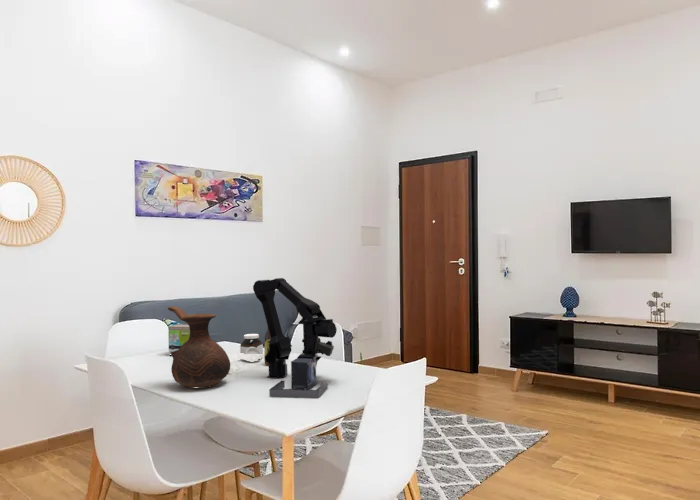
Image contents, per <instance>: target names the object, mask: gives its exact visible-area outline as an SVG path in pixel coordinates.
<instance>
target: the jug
mask: <svg viewBox="0 0 700 500" xmlns="http://www.w3.org/2000/svg"><path fill="white" fill-rule="evenodd" d="M167 310H168V311H169V312H173V313H174V314H175V315H176V317H178V319H179V320H180V321H182V322H184V323H185V324H188V325H189V328H190V336H189V339H188V341H187V342H185V343H184V344H183V345H182V346H181V347H180V349H178V350H176V351H173V352H172V351H171V352H170V353H171V354H172V356H171V357H172V363H171V368H170V369H171V376H172V377H173V380H174V382H175V383H178V384H180V385H183V386H185V387H186V386H187V387H186V388H188V387H207V388H210V387H209V386H212V387H214V386H216V385H218V384H219V383H220V382H221V381H222V380H224V379H225V378H226V377H227V376H228V375H229V373H230V370H231V361H230V358H229V356H228V354H227V352H226V351H225V349H224V348H223V347H222V346H221V345H220V344H218V342H216V341H215V340H213V339H212V338H211V336H210V331H209V325H210V321H211V320H212V319H214V318H216V314H214V313H194V314H192V313H191V314H188V313H187V312H186V311H185V310H184V309H182V308H180V307H178V306H175V305H174V306H168V307H167ZM213 385H214V386H213Z"/></svg>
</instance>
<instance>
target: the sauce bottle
mask: <svg viewBox="0 0 700 500" xmlns="http://www.w3.org/2000/svg"><path fill="white" fill-rule="evenodd" d="M270 338H271V337H270V333H269V329H268V327H267V330H266V332H265V335H264V350H263V355H264V357H263V359H264V366H269V362H266V361H265V356H266V354H267V353H268V352H269V351H270V349H269V342H270Z"/></svg>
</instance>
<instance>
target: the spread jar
mask: <svg viewBox="0 0 700 500" xmlns="http://www.w3.org/2000/svg"><path fill="white" fill-rule="evenodd" d="M263 345H264V344H263V341H262V340H261V339H260V335H259V333H246V334H244V335H243V340H242V341H241V343H240V344H239V346H240V347H239V352H240V353H244V354H263V355H264V346H263ZM240 353H239V354H240Z"/></svg>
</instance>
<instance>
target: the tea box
mask: <svg viewBox="0 0 700 500" xmlns="http://www.w3.org/2000/svg"><path fill="white" fill-rule="evenodd" d="M167 332H168V333H167V335H168V355H169V354H171V353H170V352H171V351H172V352H173V351H176V350H178V349H180V347H181V346H182V345H183V344H184V343H185V342H187V341H188V339H189V336H190V328H189V325H188V324H187V323H176V324H174V325H171V326H168V331H167ZM171 355H172V354H171Z"/></svg>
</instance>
